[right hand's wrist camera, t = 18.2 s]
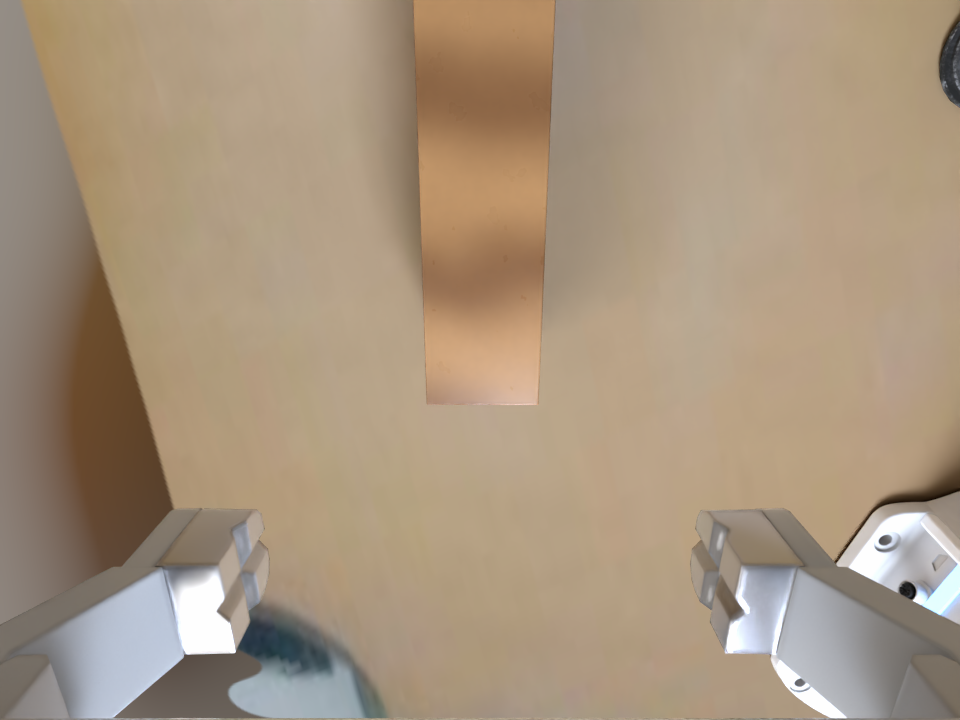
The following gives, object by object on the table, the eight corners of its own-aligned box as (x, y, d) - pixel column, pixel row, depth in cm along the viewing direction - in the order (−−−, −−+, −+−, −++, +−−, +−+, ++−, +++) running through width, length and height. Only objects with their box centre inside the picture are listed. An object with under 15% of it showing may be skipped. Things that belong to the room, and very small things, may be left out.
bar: (524, 344, 33) (538, 405, 25) (439, 343, 33) (426, 404, 25) (539, -145, 25) (567, -286, 17) (428, -145, 25) (403, -287, 17)
